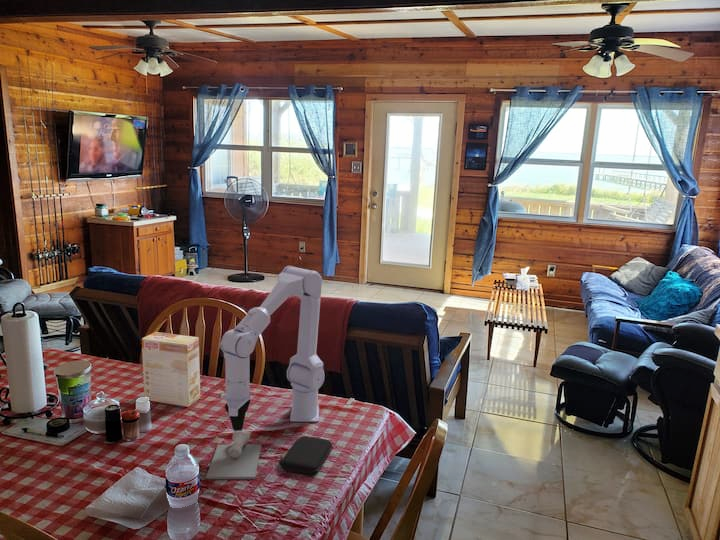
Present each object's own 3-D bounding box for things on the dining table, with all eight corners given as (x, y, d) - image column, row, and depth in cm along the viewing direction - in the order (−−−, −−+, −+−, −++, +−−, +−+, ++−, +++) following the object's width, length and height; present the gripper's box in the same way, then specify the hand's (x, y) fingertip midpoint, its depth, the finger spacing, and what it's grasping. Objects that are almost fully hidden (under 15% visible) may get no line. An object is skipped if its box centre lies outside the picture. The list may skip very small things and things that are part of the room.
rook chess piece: (246, 445, 140) (238, 465, 133) (230, 437, 140) (222, 456, 132) (253, 432, 139) (246, 451, 131) (237, 424, 138) (229, 443, 131)
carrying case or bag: (295, 442, 143) (273, 472, 129) (295, 431, 143) (273, 461, 129) (334, 448, 141) (315, 480, 127) (334, 438, 140) (315, 469, 126)
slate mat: (217, 446, 139) (217, 444, 139) (261, 446, 140) (261, 444, 139) (206, 479, 125) (206, 476, 125) (254, 479, 126) (254, 476, 126)
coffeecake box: (201, 397, 165) (199, 336, 161) (188, 407, 159) (186, 344, 154) (157, 390, 169) (155, 330, 165) (143, 400, 162) (140, 338, 158)
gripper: (226, 366, 139) (226, 415, 142) (215, 391, 125) (216, 444, 128) (254, 366, 140) (254, 415, 143) (246, 391, 126) (246, 444, 129)
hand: (238, 429), depth 135 cm, fingers closed
